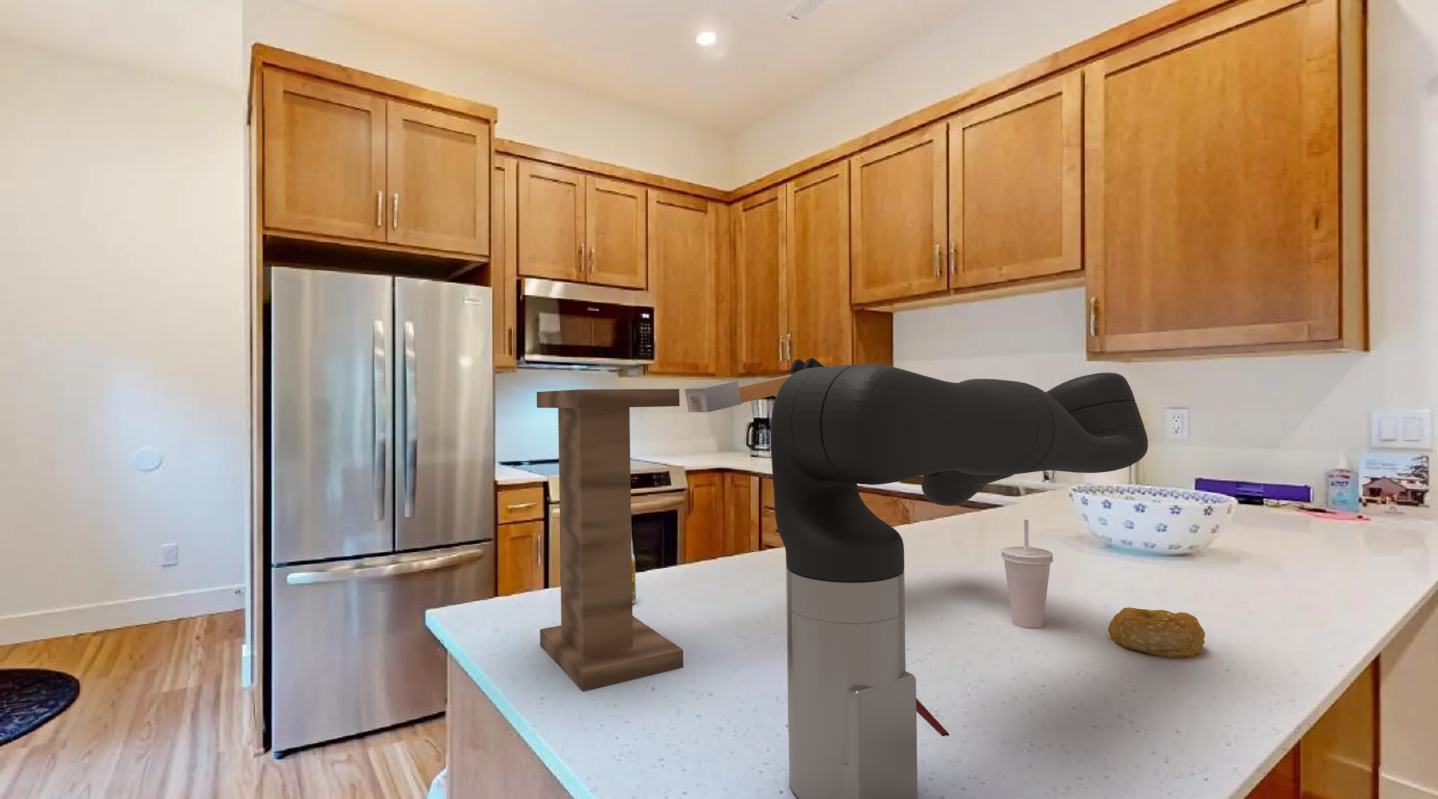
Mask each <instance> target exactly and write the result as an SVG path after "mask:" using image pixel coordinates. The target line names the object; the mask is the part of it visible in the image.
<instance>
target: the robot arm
mask: <svg viewBox="0 0 1438 799" xmlns="http://www.w3.org/2000/svg"><path fill="white" fill-rule="evenodd" d="M789 371H790V375H791V374H793V375H791V376H790V377H789V378H788V379H787V380H786V381H785V382H784V383H783V385H782V386H781V388H780V390H779V392H778V394H777V395H776V397H775V400H774V403H773V408H772V414H771V421H770V455H771V456H770V457H771V471H772V472H771V473H772V474H771V475H772V484H773V486H772V487H773V489H772V490H773V500H774V518H775V524H776V527H777V531H778V533H779V537H780V538H781V540H782V543H783V546H784V551H785V566H786V567H785V573H786V574H785V577H786V579H785V581H786V582H785V583H786V584H785V586H786V595H785V596H786V655H787V656H786V657H787V659H786V662H787V664H786V667H787V670H786V673H787V676H786V678H787V728H788V730H787V731H788V732H787V733H788V768H789V770H788V773H789V774H788V776H789V777H788V778H789V779H788V780H789V785H790V788H791V790H792V792H793V793H794V795H795V796H796V798H798V799H919V798H918V796H919V795H918V793H919V791H918V739H917V738H918V735H917V734H918V733H917V732H918V730H917V728H918V726H917V711H916V698H917V678H916V676H915V675H914V674H913V673H910V672H909V671H907V669H906V666H907V664H906V663H907V662H906V614H905V613H906V610H905V609H906V600H905V599H906V597H905V596H906V594H905V590H906V589H905V586H906V585H905V582H906V581H905V545H904V540H903V538H902V536H901V534H900V532H898V530H896V529H895V528H894V527H893V526H891V525H889V524H888V523H887V522H885V521H883V519H881V518H879V517H878V516H877V515H876V514H875V513H874V512H873V511H871V509H870V508H869V507H868V506H867V505H866V504H865V502H864V501H863V499H862V497H861V496H860V493H859V487H858V485H865V486H866V485H868V486H872V485H873V486H877V485H886V484H892V483H897V482H901V481H907V480H911V479H914V478H919V477H922V479H921V490H922V493H923V496H925V498H927V500H929V501H930V502H931V503H934V504H936V505H938V506H944V507H950V506H951V507H952V506H958V505H960V504H963V503H965V502H967V501H969V500H970V499H972V498H973V497H974V496H975V495H976V494H977V493H979V492H980V491H981V490H983V489H984V487H985V486H987V485H989V484H991V483H994V482H997V481H1001V480H1004V479H1007V478H1010V477H1013V476H1014V475H1021V474H1029V473H1038V472H1046V471H1047V472H1048V471H1057V472H1067V473H1074V474H1075V473H1077V474H1080V473H1081V474H1098V473H1109V472H1115V471H1118V470H1123V469H1125V468H1128V467H1131V466H1132V465H1135V464H1136V463H1138V462H1140V461H1141V460H1142V459H1143V458H1144V457H1145V456H1146V454H1147V452H1148V449H1149V439H1148V434H1147V431H1146V429H1145V425H1144V421H1143V419H1142V416H1141V413H1140V409H1139V407H1138V404H1137V402H1136V398H1135V395H1134V393H1133V390H1132V388H1131V386H1130V384H1129V382H1128V380H1127V379H1126V377H1125V376H1124V375H1122V374H1119V373H1115V372H1097V373H1092V374H1086V375H1082V376H1081V375H1080V376H1078V377H1074V378H1072V379H1069V380H1067V381H1064V382H1062V383H1059V384H1057V385H1056V386H1054V387H1052V388H1050V389H1049V390H1047V391H1045V390H1042V389H1041V388H1039V387H1038V386H1035V385H1032V384H1029V383H1027V382H1022V381H1016V380H1008V379H1007V380H1006V379H999V378H998V379H997V378H971V379H966V380H962V381H959V382H952V381H946V380H941V379H938V378H934V377H931V376H926V375H923V374H920V373H917V372H913V371H911V370H907V369H903V368H898V367H895V366H892V365H891V366H890V365H886V364H879V363H864V364H863V363H859V364H858V363H857V364H845V365H832V366H830V365H828V366H825V365H823V364H822V363H820V362H819V361H818V360H817V359H815V358H813V357H809V358H807V360H805V362H804V361H803V360H802V359H795V360H793V362H792V364H791V367H790V369H789Z"/></svg>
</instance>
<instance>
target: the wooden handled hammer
mask: <svg viewBox="0 0 1438 799" xmlns="http://www.w3.org/2000/svg"><path fill="white" fill-rule="evenodd" d="M791 375H793V374H791V373H790V374H787V375H781V376H778V377H773V378H768V379H764V380H760V381H755V382H751V383H746V384H741V385H739V381H738V380H731V381H729V380H727V381H716V382H712V383H707V384H702V385H698V386H693V387H688V388H684V393H685V401H686V404H687V410H688V413H711V412H714V411H715V412H716V411H719V410H723V409H728V408H731V407H737V406H740V405H743V403H748V402H753V401H757V400H760V399H765V398H768V397H773V396H777V394H778V392H779V390H780V388H781V386H782V385H783V383H784V382H785V381H786V380H787V379H788V378H789V377H790V376H791Z"/></svg>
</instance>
